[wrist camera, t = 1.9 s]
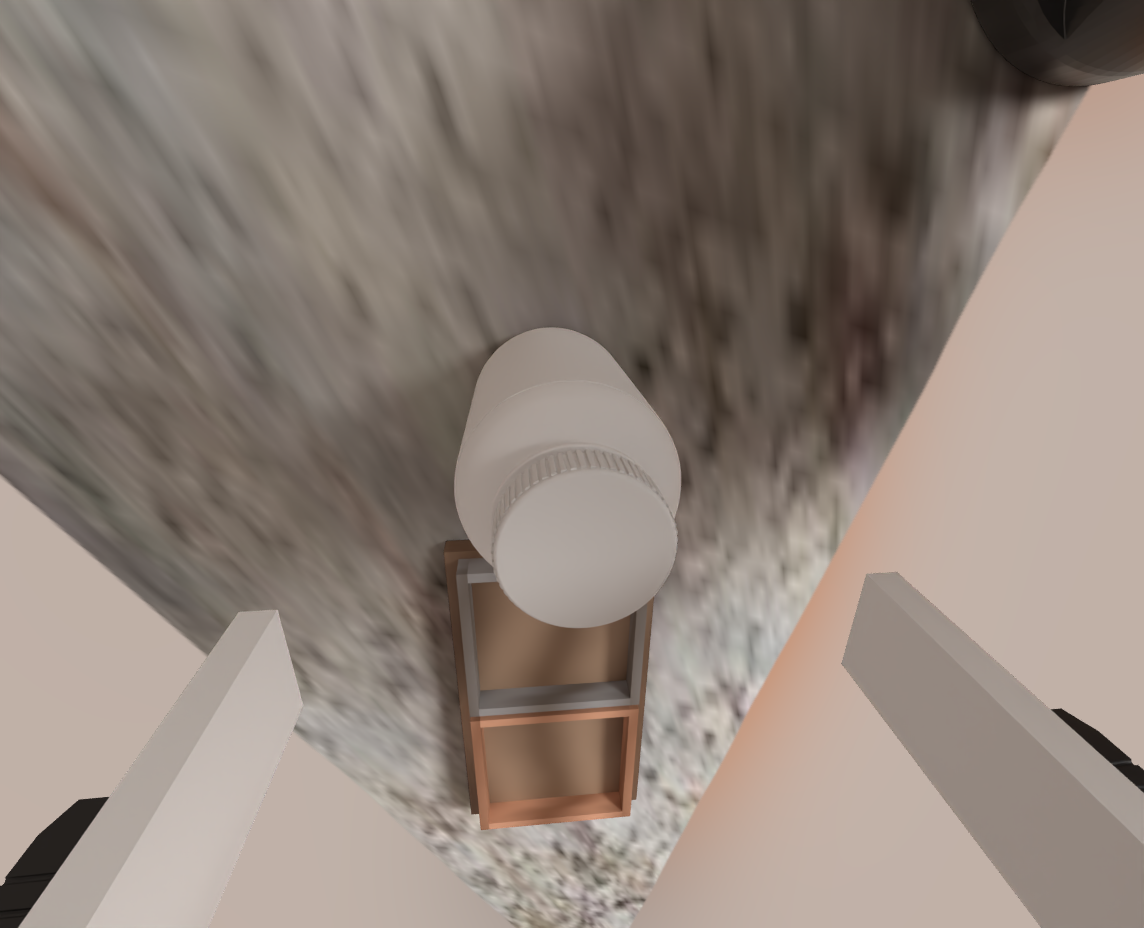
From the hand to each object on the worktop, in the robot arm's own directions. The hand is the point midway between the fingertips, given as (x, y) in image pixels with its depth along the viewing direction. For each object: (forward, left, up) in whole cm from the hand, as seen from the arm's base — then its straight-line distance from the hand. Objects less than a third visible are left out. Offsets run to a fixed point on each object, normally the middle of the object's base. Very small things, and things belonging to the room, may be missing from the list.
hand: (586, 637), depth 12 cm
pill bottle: (0, 0, -18) cm, 18 cm away
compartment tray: (0, +20, -18) cm, 27 cm away
